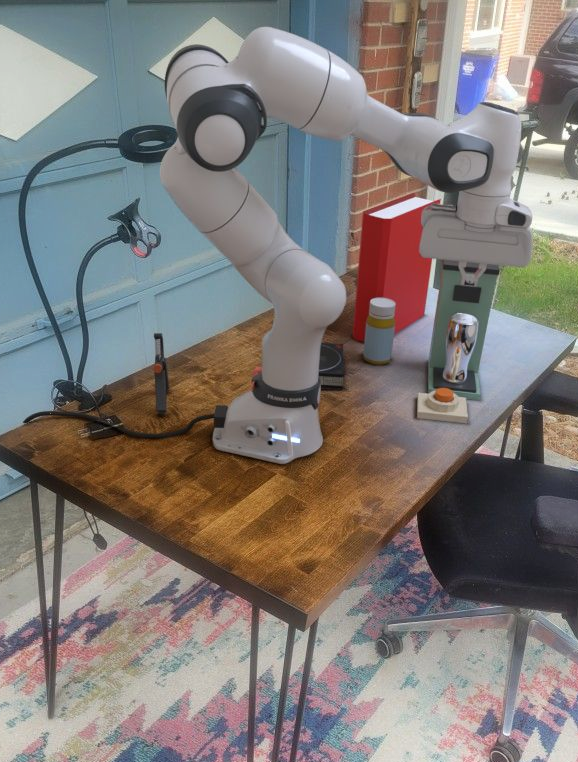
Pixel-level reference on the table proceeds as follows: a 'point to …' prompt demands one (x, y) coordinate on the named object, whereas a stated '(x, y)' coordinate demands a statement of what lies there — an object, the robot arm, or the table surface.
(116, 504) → the table surface
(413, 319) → the book
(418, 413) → the control pad
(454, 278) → the mint green tower
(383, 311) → the bottle
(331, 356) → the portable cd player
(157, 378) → the hand grip strengthener
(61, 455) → the table surface
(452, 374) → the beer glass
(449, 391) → the button
